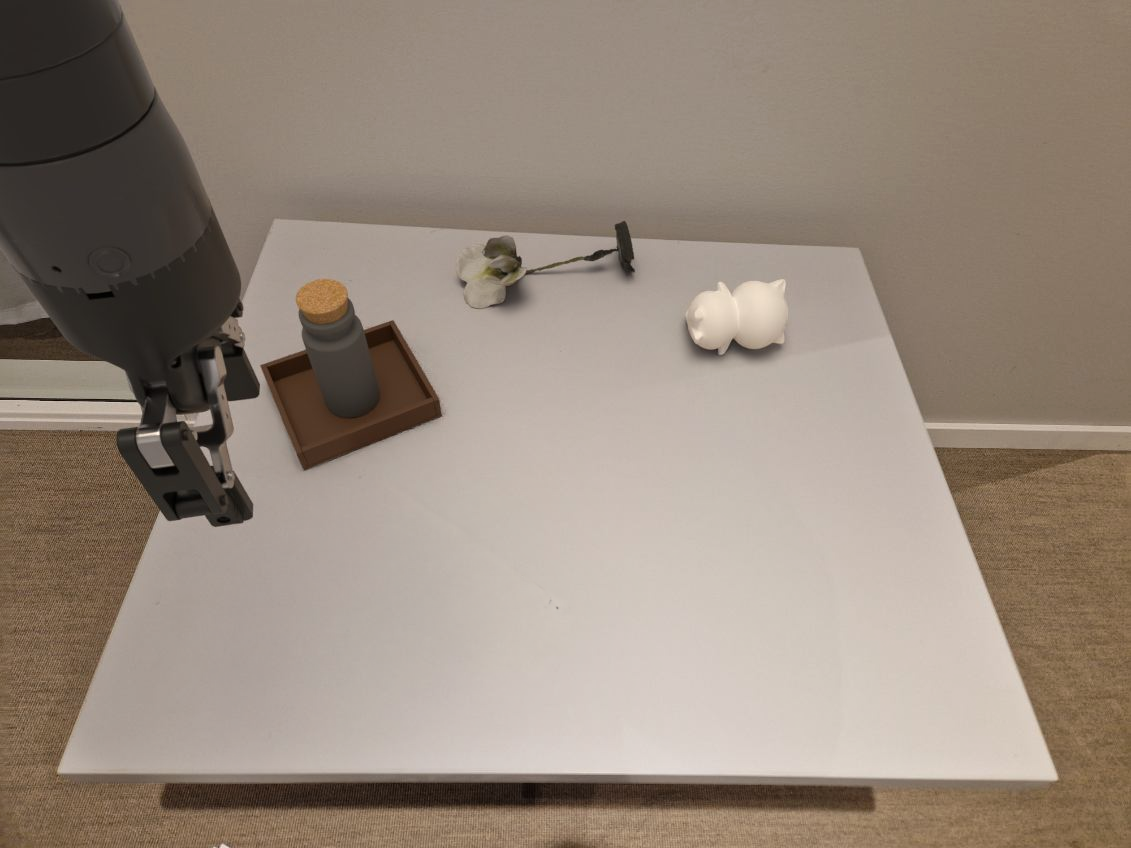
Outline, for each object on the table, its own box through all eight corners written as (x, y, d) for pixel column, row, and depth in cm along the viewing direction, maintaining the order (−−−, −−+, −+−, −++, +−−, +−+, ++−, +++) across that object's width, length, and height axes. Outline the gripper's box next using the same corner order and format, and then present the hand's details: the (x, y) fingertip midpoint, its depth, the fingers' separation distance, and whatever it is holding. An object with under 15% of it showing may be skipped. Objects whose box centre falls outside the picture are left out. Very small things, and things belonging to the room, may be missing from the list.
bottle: (353, 369, 82) (322, 265, 70) (391, 393, 80) (366, 291, 68) (313, 401, 79) (275, 299, 67) (352, 427, 77) (319, 326, 65)
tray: (303, 470, 74) (296, 453, 72) (267, 382, 81) (259, 364, 78) (442, 416, 79) (439, 398, 77) (397, 337, 86) (393, 319, 83)
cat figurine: (696, 291, 79) (802, 279, 80) (669, 276, 89) (763, 265, 90) (698, 369, 82) (799, 355, 83) (671, 346, 92) (762, 334, 93)
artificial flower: (640, 296, 93) (646, 252, 84) (467, 327, 93) (454, 286, 83) (626, 239, 97) (630, 190, 87) (458, 268, 96) (444, 222, 86)
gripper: (43, 125, 32) (182, 369, 45) (-51, 361, 24) (152, 577, 37) (221, 113, 33) (307, 354, 46) (190, 334, 25) (306, 553, 38)
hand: (238, 453), depth 41 cm, fingers open, 8 cm apart
